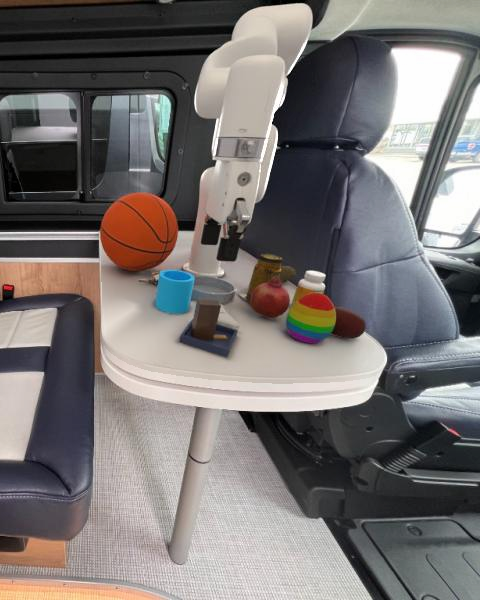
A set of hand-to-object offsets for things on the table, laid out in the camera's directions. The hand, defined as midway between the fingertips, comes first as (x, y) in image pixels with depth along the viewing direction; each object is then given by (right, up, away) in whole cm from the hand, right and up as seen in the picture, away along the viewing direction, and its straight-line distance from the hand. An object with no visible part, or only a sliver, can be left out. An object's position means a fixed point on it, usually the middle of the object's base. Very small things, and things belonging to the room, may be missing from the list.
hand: (216, 252), depth 60 cm
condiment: (+22, -9, +25) cm, 34 cm away
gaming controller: (+6, -14, +14) cm, 20 cm away
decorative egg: (+22, -17, +8) cm, 29 cm away
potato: (+31, -11, +8) cm, 34 cm away
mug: (-2, -10, +22) cm, 24 cm away
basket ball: (-10, +3, +47) cm, 48 cm away
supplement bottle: (+30, -12, +21) cm, 39 cm away
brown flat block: (+1, -17, +6) cm, 18 cm away
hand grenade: (+39, 0, +37) cm, 54 cm away
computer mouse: (-1, -4, +33) cm, 34 cm away
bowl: (+9, -7, +28) cm, 30 cm away
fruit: (+19, -13, +17) cm, 28 cm away
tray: (+1, -17, +7) cm, 18 cm away
